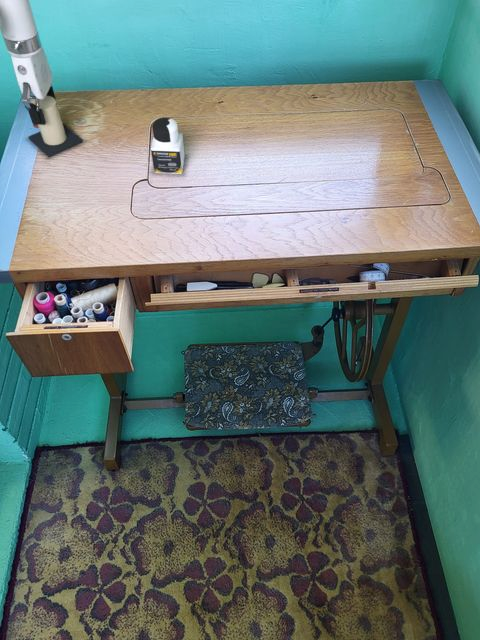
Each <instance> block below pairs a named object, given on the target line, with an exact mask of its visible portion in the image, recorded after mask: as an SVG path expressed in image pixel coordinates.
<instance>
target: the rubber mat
mask: <svg viewBox="0 0 480 640" xmlns="http://www.w3.org/2000/svg"><path fill="white" fill-rule="evenodd" d="M63 126H64V130H65V133H66V136H67V138H66V140H65V141H64V142H63V143H61V144H58V145H48V144H46V143H45V142H44V141H43V138H42V135H41V133H40V131H38V132H36V133H34V134H32V135H29V136H28V140H29V141H30V142H31V143H33V144H34V145H35V146H36V147H37V148H38V150H40V151H41V152H42V153H44V155H45V156H46V157H48V158H51V157H54V156H56V155H57V154H61V153H63V152H64V151H67V150H69V149H72V148H73V147H77V146H78V145H80V144H82V143H83V140H82V139H81V138H80V137H79V135H77V134H76V133H75V132H74V131H73V130H71V129H70V128H69V127H68V126H67V125H66V124H64V123H63Z"/></svg>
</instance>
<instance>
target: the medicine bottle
mask: <svg viewBox="0 0 480 640" xmlns="http://www.w3.org/2000/svg"><path fill="white" fill-rule="evenodd" d="M151 128H152V134H153V137H152V142H151V147H150V153H151V161H152V167H153V172H154V173H155V174H173V175H174V174H175V175H176V174H177V175H182V174H183V173H184V172H183V171H184V165H185V158H186V157H185V146H184V136H183V133H182V132H179V125H178V123H177V121H176V120H174V119H173V118H170V117H160V118H157V119H155V120H154V121H153V123H152V124H151Z"/></svg>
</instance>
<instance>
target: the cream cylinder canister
mask: <svg viewBox="0 0 480 640" xmlns="http://www.w3.org/2000/svg"><path fill="white" fill-rule="evenodd" d="M30 101H31V103H33V104H35V99H31V100H30ZM39 103H40V109H42V112H43V115H44V118H45V121H46V124H45V125H38V124H33V123H32V126H33V127H34V129H38V130H39V132H40V133H41V135H42V138H43V141H44V142H45V143H46V144H48V145H58V144H61V143H63V142H64V141H65V140H66V138H67V136H66V133H65V130H64V126H63V124H64V123H63V121H62V117H61V113H60V111H59V107H58V104H57V99H56V100H55V99H54V98H53V97H51V96H45V98H44V99H42V100H41V99H39Z"/></svg>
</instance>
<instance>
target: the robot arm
mask: <svg viewBox="0 0 480 640" xmlns="http://www.w3.org/2000/svg"><path fill="white" fill-rule="evenodd" d="M34 17H35V16H34V14H33V11H32V7H31V3H30V0H0V33H1V36H2V39H3V41H4V42H3V43H4V45H5V47H6V50H7V52H8V53H9V54H10V57H11V62H12V67H13V70H14V74H15V77H16V81H17V84H18V87H19V90H20V92H21V102H22V104H23V106H24V108H25V109H26V111H27V112H28V115H29V117H30V119H31V121H30V122H31V123H32V125H33V124H38V125H45V124H46V121H45V118H44V115H43V112H42V109H40V103H39V99H41V100H42V99H44V98H45V96H51V97H53V98H54V99H55V100H56V101H57V98H56V95H55V91H54V88H53V86H52V85H53V82H54V76H53V73H52V70H51V67H50V63H49V60H48V58H47V54H46V52H45V50H44V48H43V45H42V41H41V38H40V34H39V31H38V28H37V27H38V26H37V24H36V21H35V18H34ZM31 94H33V95H31ZM33 99H35V104H33V103H31V101H32V100H33Z"/></svg>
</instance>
